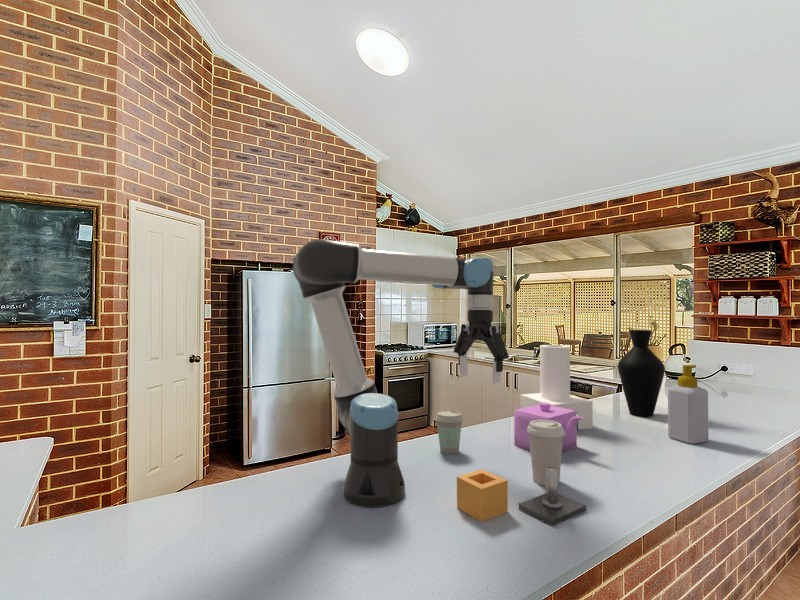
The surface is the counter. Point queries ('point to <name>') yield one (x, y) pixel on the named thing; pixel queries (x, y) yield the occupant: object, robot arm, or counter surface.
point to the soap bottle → (688, 409)
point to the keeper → (552, 503)
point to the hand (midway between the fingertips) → (479, 379)
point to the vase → (641, 375)
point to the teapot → (545, 413)
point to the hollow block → (482, 494)
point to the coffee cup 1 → (449, 430)
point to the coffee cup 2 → (545, 448)
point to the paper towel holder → (558, 385)
